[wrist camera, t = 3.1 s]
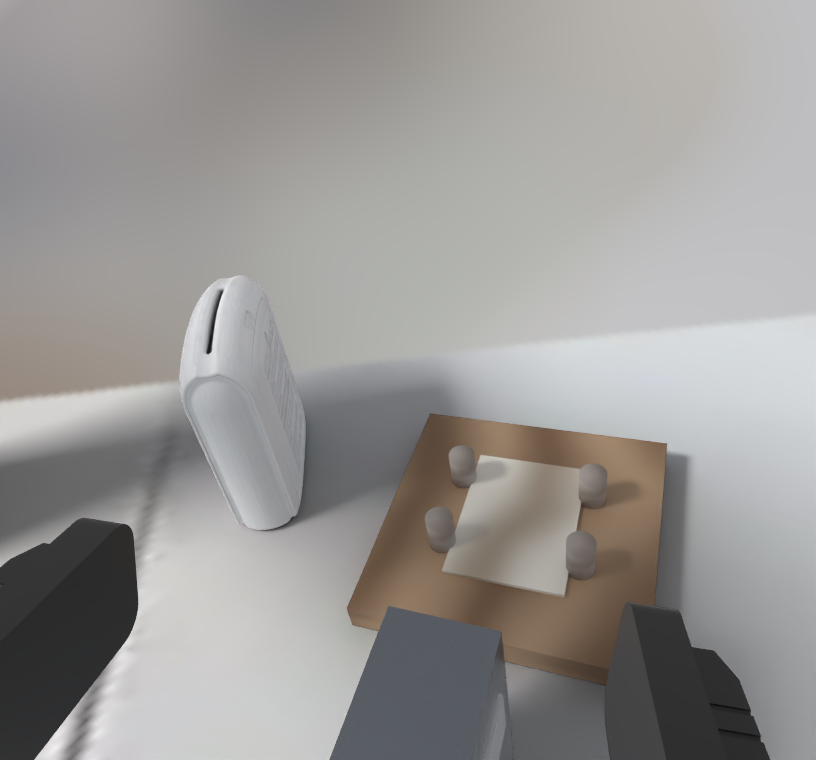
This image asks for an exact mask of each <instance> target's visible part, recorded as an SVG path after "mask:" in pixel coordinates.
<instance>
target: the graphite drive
mask: <svg viewBox="0 0 816 760" xmlns="http://www.w3.org/2000/svg"><path fill="white" fill-rule="evenodd" d="M513 758H514V755H513V744H512V734H511V724H510V713H509V703H508V692H507V682H506V671H505V661H504V651H503V640H502V631H498V630H494V629H490V628H485V627H481V626H476V625H472V624H467V623H463V622H458V621H454V620H450V619H445V618H441V617H436V616H432V615H427V614H423V613H418V612H414V611H410V610H405V609H401V608H396V607H392V606H388V608H387V611H386V613H385V616H384V618H383V621H382V624H381V626H380V629H379V632H378V634H377V637H376V639H375V642H374V645H373V647H372V650H371V652H370V655H369V658H368V660H367V663H366V666H365V668H364V671H363V673H362V676H361V679H360V681H359V684H358V687H357V689H356V692H355V694H354V697H353V700H352V702H351V705H350V707H349V710H348V713H347V715H346V718H345V721H344V723H343V726H342V728H341V731H340V734H339V736H338V739H337V742H336V744H335V747H334V749H333V752H332V755H331V757H330V760H513Z"/></svg>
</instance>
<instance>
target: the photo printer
mask: <svg viewBox="0 0 816 760" xmlns="http://www.w3.org/2000/svg"><path fill="white" fill-rule="evenodd" d="M180 394H181V400H182V404H183V407H184V410H185V412H186V414H187V417H188V419H189V421H190V423H191V426H192V428H193V430H194V432H195V434H196V436H197V439H198V441H199V443H200V445H201V447H202V449H203V452H204V454H205V456H206V459H207V461H208V463H209V465H210V467H211V469H212V471H213V474H214V476H215V478H216V480H217V482H218V484H219V487H220V489H221V491H222V493H223V495H224V497H225V500H226V502H227V504H228V506H229V508H230V510H231V512H232V514H233V516H234V518H235V520H236V521H237V522H238V524H245V525H246V526H247V527H249V528H251V529H255V530H269V529H273V528H277V527H279V526H282V525H284V524H285V523H287V522H289V521H290V519H291V517H293V516H296V515H297V513H298V510H299V506H300V502H301V496H302V488H303V476H304V461H305V442H306V422H305V414H304V409H303V405H302V402H301V399H300V396H299V393H298V390H297V387H296V384H295V381H294V378H293V375H292V371H291V368H290V365H289V362H288V359H287V356H286V353H285V350H284V346H283V343H282V341H281V337H280V334H279V330H278V327H277V324H276V321H275V318H274V314H273V311H272V308H271V305H270V302H269V299H268V297H267V295H266V293H265V292H264V290H263V289H262V288H261V287H260V286H259V285H258V284H257V283H256V282H254V281H253V280H251V279H249V278H247V277H245V276H242V275H237V276H235V277H233V278H229V279H226V278H220V279H219V280H217V281H216V282H214V283H213V284H212V285H211V286H210V287H209V288H208V289H207V290H206V291H205V292H204V293H203V295H202V296H201V297H200V299H199V301H198V303H197V305H196V307H195V309H194V311H193V313H192V316H191V319H190V322H189V325H188V328H187V332H186V336H185V340H184V345H183V350H182V357H181V365H180Z"/></svg>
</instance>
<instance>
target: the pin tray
mask: <svg viewBox="0 0 816 760" xmlns="http://www.w3.org/2000/svg"><path fill="white" fill-rule="evenodd" d="M666 450H667V444H666V443H658V442H650V441H642V440H634V439H626V438H619V437H611V436H603V435H595V434H587V433H579V432H571V431H563V430H555V429H547V428H540V427H532V426H524V425H516V424H508V423H500V422H492V421H484V420H476V419H469V418H461V417H453V416H445V415H437V414H430V415H429V418H428V420H427V422H426V425H425V427H424V429H423V432H422V434H421V436H420V439H419V441H418V443H417V446H416V448H415V450H414V453H413V455H412V457H411V460H410V462H409V464H408V467H407V469H406V471H405V474H404V476H403V478H402V481H401V483H400V485H399V488H398V490H397V492H396V495H395V497H394V499H393V502H392V504H391V506H390V509H389V511H388V513H387V516H386V518H385V520H384V523H383V525H382V527H381V530H380V532H379V534H378V537H377V539H376V541H375V544H374V546H373V548H372V551H371V553H370V556H369V558H368V560H367V563H366V565H365V567H364V570H363V572H362V574H361V577H360V579H359V581H358V584H357V586H356V588H355V591H354V593H353V595H352V598H351V600H350V602H349V605H348V607H347V610H348V613H349V616H350V619H351V622H352V625H355V626H359V627H364V628H368V629H372V630H376V631H379V629H380V626H381V624H382V621H383V618H384V616H385V613H386V611H387V608H388V606H392V607H396V608H401V609H405V610H410V611H414V612H418V613H423V614H427V615H432V616H436V617H441V618H445V619H450V620H454V621H458V622H463V623H467V624H472V625H476V626H481V627H485V628H490V629H494V630H498V631H502V640H503V651H504V661H506V662H510V663H514V664H519V665H523V666H527V667H531V668H535V669H540V670H544V671H548V672H552V673H556V674H561V675H565V676H569V677H573V678H577V679H581V680H586V681H590V682H594V683H598V684H602V685H606V684H607V679H608V674H609V670H610V665H611V661H612V656H613V652H614V647H615V643H616V638H617V634H618V629H619V625H620V620H621V616H622V612H623V608H624V606H625V604H626V603H627V602H631V603H638V604H644V605H650V606H654V605H655V592H656V580H657V567H658V554H659V541H660V528H661V515H662V502H663V489H664V476H665V463H666Z"/></svg>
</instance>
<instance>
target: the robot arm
mask: <svg viewBox="0 0 816 760" xmlns="http://www.w3.org/2000/svg"><path fill="white" fill-rule="evenodd" d="M137 610H138V591H137V577H136V564H135V550H134V538H133V532H132V530H131V528H130V527H129V526H128V525H126V524H120V523H114V522H107V521H101V520H95V519H88V518H81V519H79V520H77V521H76V522H74V523H73V524H72V525H71V526H70V527H69V528H67V529H66V530H65V531H64V532H63V533H62V534H61V535H59V536H58V537H57V538H56V539H55V540H54V541H53V542H52V543H50V544H46V543H42V544H40V545H38V546H36V547H34V548H32V549H30V550H28V551H26V552H24V553H22V554H20V555H18V556H16V557H14V558H12V559H10V560H9V561H7V562H6V563H5V564H4V565H3V566H2V567H0V760H34V759H35V758H36V757H37V755H38V754H39V753H40V751H41V750H42V749H43V747H44V746H45V745H46V744H47V742H48V741H49V740H50V738H51V737H52V736H53V735H54V733H55V732H56V731H57V729H58V728H59V727H60V725H61V724H62V723H63V722H64V720H65V719H66V718H67V716H68V715H69V714H70V713H71V711H72V710H73V709H74V707H75V706H76V705H77V704H78V702H79V701H80V700H81V698H82V697H83V696H84V694H85V693H86V692H87V691H88V689H89V688H90V687H91V685H92V684H93V683H94V682H95V680H96V679H97V678H98V676H99V675H100V674H101V672H102V671H103V670H104V669H105V667H106V666H107V665H108V663H109V662H110V661H111V660H112V658H113V657H114V656H115V654H116V653H117V652H118V651H119V649H120V648H121V647H122V645H123V644H124V643H125V641H126V640H127V638H128V637H129V635H130V633H131V631H132V628H133V626H134V623H135V620H136V616H137ZM750 711H751V709H750V707H749V704H748V702H747V699H746V697H745V694H744V691H743V689H742V686H741V684H740V681H739V679H738V678H737V677H736V676H735V674H734V673H733V672H732V671H731V670H730V669H729V668H728V666H727V665H726V664H725V663H724V662H723V661H722V660H721V658H720V657H719V656H718V655H717V654H716V653H715V652H714V651H712V650H706V649H700V648H694V647H691V644H690V641H689V638H688V635H687V632H686V629H685V626H684V623H683V619H682V617H681V614H680V612H679V611H678V610H676V609H669V608H663V607H657V606H650V605H644V604H638V603H631V602H627V603H626V604H625V606H624V608H623V612H622V616H621V620H620V625H619V629H618V634H617V638H616V643H615V647H614V652H613V656H612V661H611V665H610V670H609V674H608V679H607V684H606V692H605V726H606V733H607V740H608V748H609V755H610V760H770V758H769V756H768V753H767V751H766V748H765V745H764V743H762V742H761V740H760V737H761V735H760V733H759V730H758V727H757V725H756V722H755V720H754V717H753V716H751V714H750Z"/></svg>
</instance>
